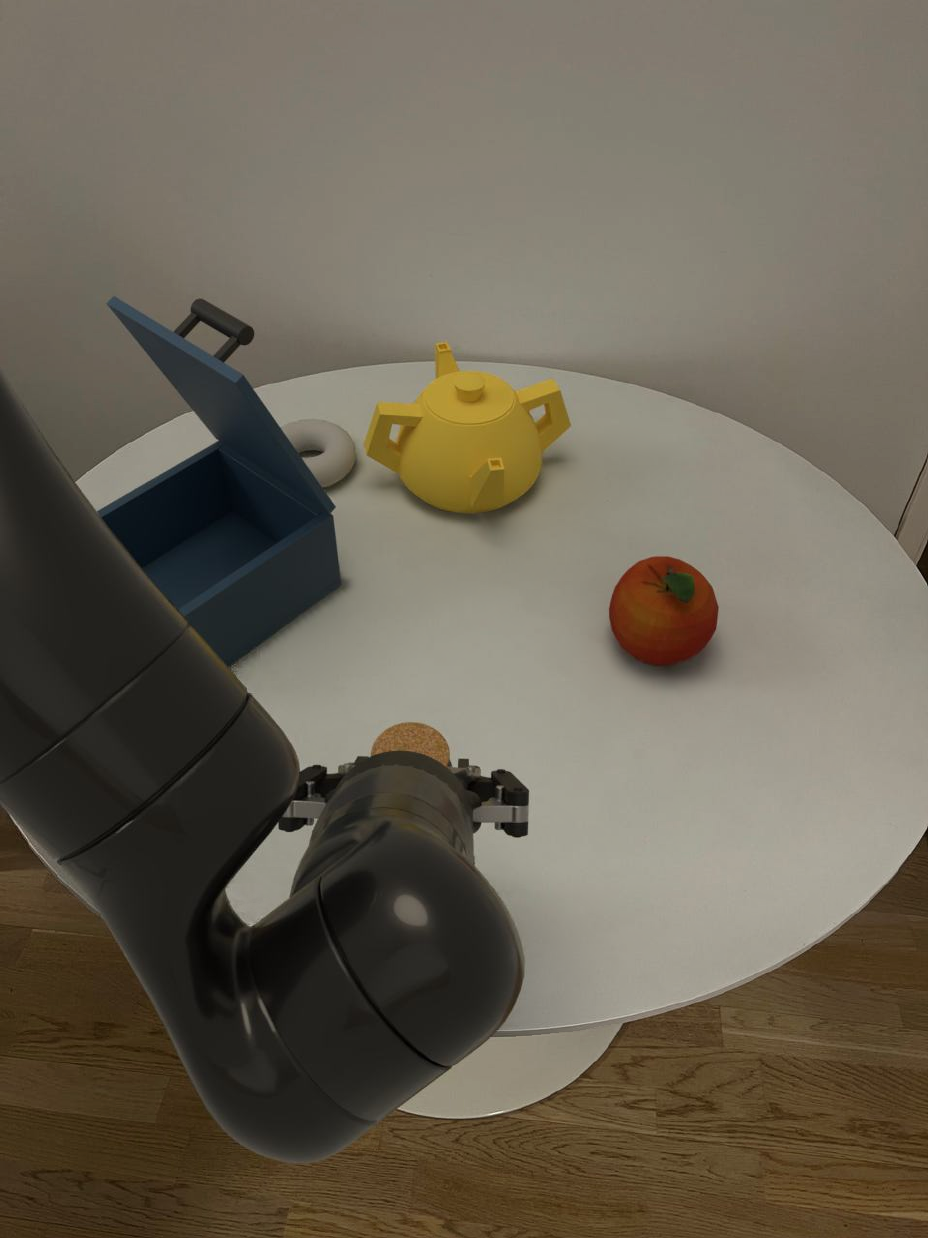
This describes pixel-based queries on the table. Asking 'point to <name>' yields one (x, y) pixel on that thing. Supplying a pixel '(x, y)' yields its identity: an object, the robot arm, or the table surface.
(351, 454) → the donut
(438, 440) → the teapot
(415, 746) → the bottle
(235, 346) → the cool box lid
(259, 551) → the cool box
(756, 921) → the table surface
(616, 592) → the fruit
